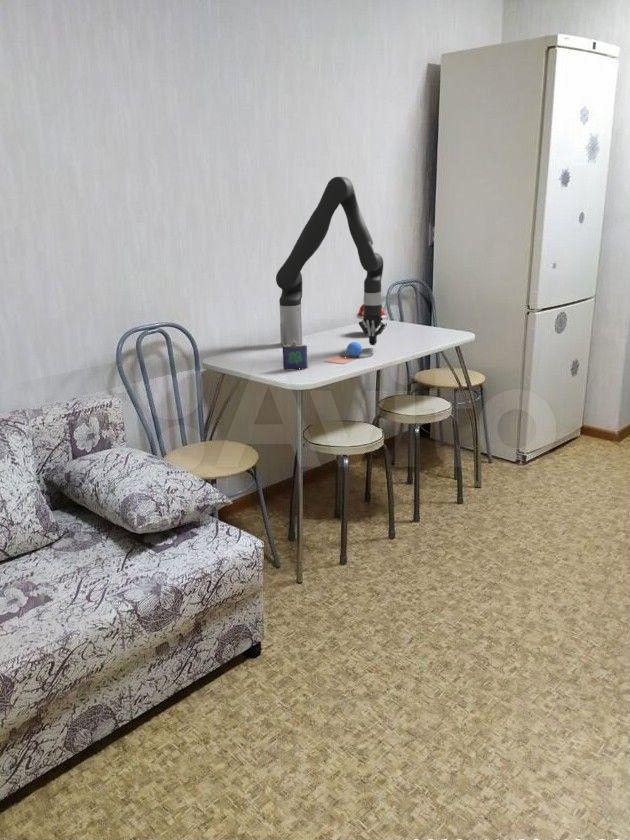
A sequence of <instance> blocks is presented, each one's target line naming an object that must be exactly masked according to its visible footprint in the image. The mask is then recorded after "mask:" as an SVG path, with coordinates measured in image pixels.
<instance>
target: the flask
mask: <svg viewBox="0 0 630 840" xmlns="http://www.w3.org/2000/svg"><path fill="white" fill-rule="evenodd" d="M296 342H297V341H293V344H289V345H288V344H287V345H284V346H282V364H283V365H282V368H283V370H284V369H296V370H303V369H302V368H307V369H308V368H309V364H308V361H309V360H308V345H307V344H301V345H297V344H296ZM299 368H300V369H299Z"/></svg>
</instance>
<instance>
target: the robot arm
mask: <svg viewBox="0 0 630 840" xmlns="http://www.w3.org/2000/svg"><path fill="white" fill-rule="evenodd" d="M354 187H355V186H354V185H353V182H352V181H351V179H349V178H348V177H345V176H334V177H333V178H330V180H329V181H328V183H327V185H326V187H325V188H324V191H323V193H322V196H321V198H320V200H319V202H318V204H317V206H316V208H315V209H314V210H313V212H312V214H311V216H310V217H309V219H308V220H307V222H306V224H305V226H304V227H303V229H302V230H301V233H300V234H299V236H298V237H297V238H298V239H297V240H296V242H295V244H294V246H293V248H292V250H291V252H290V254H289V255H288V258H286V260H285V262H284V263H283V264H282V265H281V267H280V268H279V269H278V271H277V273H276V277H275V283H276V286H278V288H280V289H281V294H280V297H279V302H278V303H279V322H280V324H279V329H280V330H279V333H280V346H281V345H287V344H288V345H289V344H293V341H297V342H296V344H297V345H303V325H302V324H303V322H302V318H303V317H302V298H303V275H302V273H301V271H302V269H303V267H304V266H305V265H306V263H307V262H308V260H310V258H311V257H313V255H314V254H315V253H316V251H317V250H319V248H320V246H321V245H322V243H323V241H324V240H325V238H326V236H327V234H328V231H329V229H330V226H331V222H332V218H333V215H334V214H335V212H336V210H337V209H338V207H339V206H341V207H342V209H343V211H344V214H345V216H346V221H347V225H348V230H349V233H350V235H351V238H352V240H353V242H354V245H355V247H356V249H357V255H358V259H359V262H360V265H361V267H362V268H363V270H364V271H366V277H365V279H364V281H363V300H362V302H363V304H364V317H363V319H361V321H359V322H358V325H359V326H360V329H361V330H362V332H363V331H364V332H363V334H364V333H365V334H367V335H366V336H368V342H369V343H368V344H369V345H370V346H376V344H377V336H378V335H379V336H380V335H381V334H382V333H383V331H385V328H387V326H388V323H386V322H384V321H383V319H382V317H381V315H382V307H383V297H382V278H383V271H384V259H383V256H382V255H381V254H380V253H378V252H375V251H374V248H373V244H374V242H373V241H374V240H373V238H372V236H371V233H370V232H369V229H368V226H367V225H366V223H365V220H364V217H363V215H362V212H361V209H360V206H359V203H358V200H357V194H356V193H355V188H354ZM366 325H367V326H366ZM378 327H380V328H379V329H378ZM365 334H364V335H365Z"/></svg>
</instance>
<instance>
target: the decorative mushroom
mask: <svg viewBox="0 0 630 840" xmlns="http://www.w3.org/2000/svg"><path fill="white" fill-rule="evenodd" d="M355 317H356V318H357V319H359V320H363V317H364V303H363V304H362V305H361V306H360V307H359V311H358V313H357V314H356V315H355ZM381 317H382V320H383V319H385V318H387V314H386V313H385V311H384V307H383V306H382V315H381ZM366 326H367V325H366ZM379 328H380V326H379V327H378V329H379ZM362 333H363V334H364V335H365V333H364V331H363V330H362ZM366 336H368V335H367V334H366Z"/></svg>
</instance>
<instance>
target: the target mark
mask: <svg viewBox="0 0 630 840" xmlns="http://www.w3.org/2000/svg"><path fill="white" fill-rule="evenodd" d="M373 354H374V352H373V351H369V350H365V349H362V352H361V354H360V355H359V356H357V357H351V356H350V355H349V354H348V353H347V350H345V351H342V352H340V353H338V357H346V358H353V359H365V357H366V358H370V357H372V355H373ZM373 356H374V355H373Z"/></svg>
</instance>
